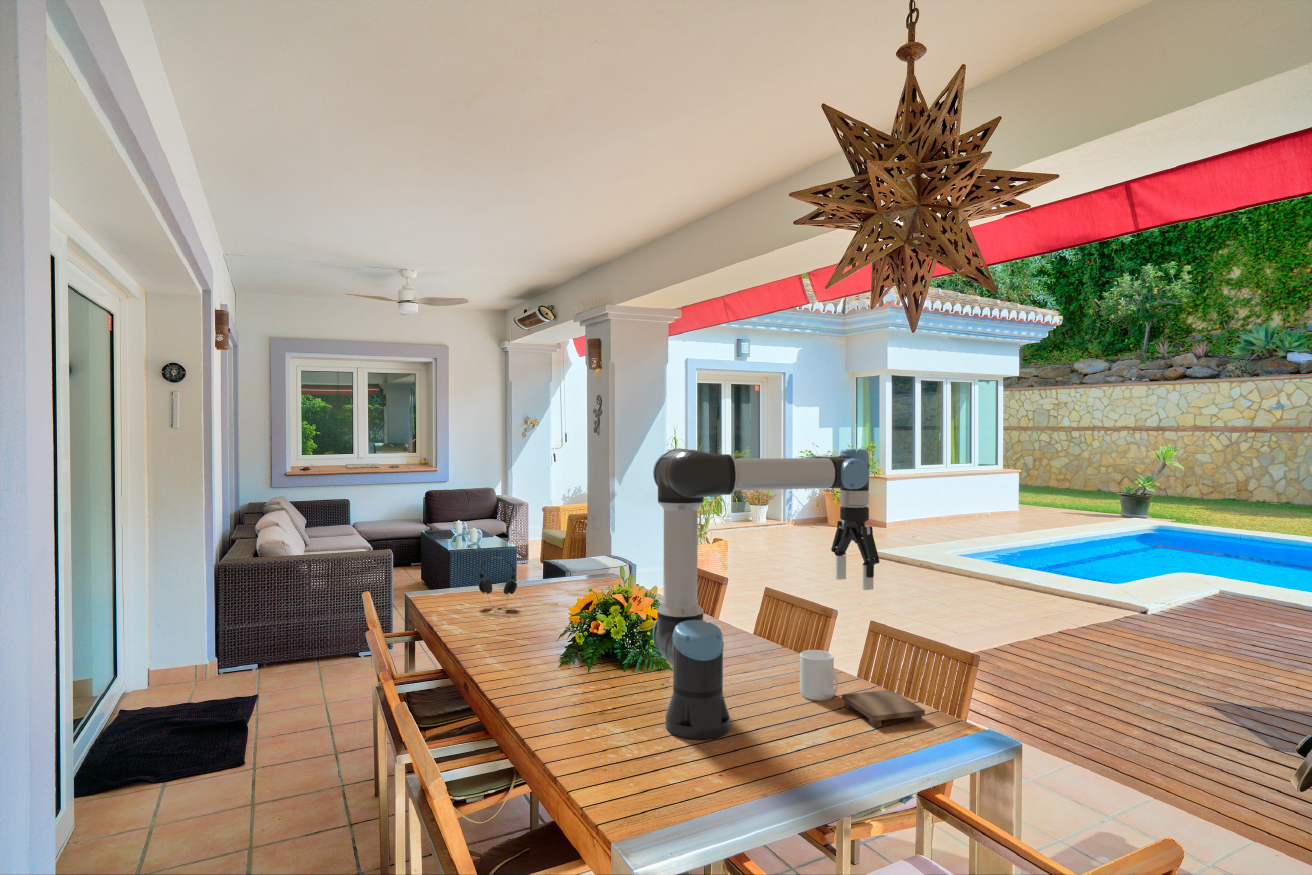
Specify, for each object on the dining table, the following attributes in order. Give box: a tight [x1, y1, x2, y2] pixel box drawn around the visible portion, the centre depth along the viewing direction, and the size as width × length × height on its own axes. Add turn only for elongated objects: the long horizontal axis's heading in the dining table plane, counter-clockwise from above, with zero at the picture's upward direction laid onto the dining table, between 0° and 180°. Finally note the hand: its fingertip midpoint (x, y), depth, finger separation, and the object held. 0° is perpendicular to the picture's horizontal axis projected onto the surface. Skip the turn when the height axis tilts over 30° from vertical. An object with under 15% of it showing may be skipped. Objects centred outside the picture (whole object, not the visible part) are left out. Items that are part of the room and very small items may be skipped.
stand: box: [841, 689, 926, 729], centre depth 175 cm, size 14×14×3 cm
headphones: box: [478, 556, 518, 614], centre depth 277 cm, size 15×11×20 cm
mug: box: [799, 649, 838, 702], centre depth 186 cm, size 9×12×11 cm
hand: (854, 584), depth 193 cm, fingers open, 13 cm apart
